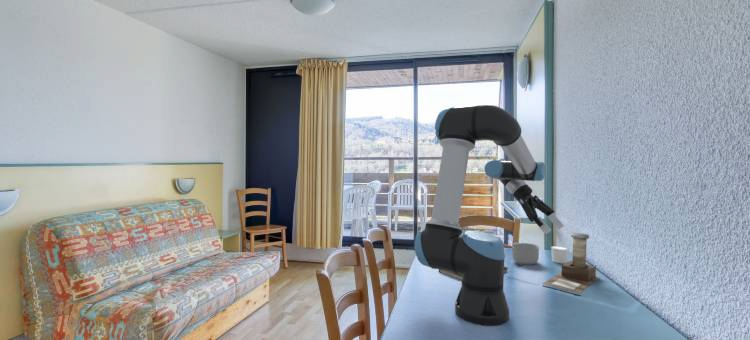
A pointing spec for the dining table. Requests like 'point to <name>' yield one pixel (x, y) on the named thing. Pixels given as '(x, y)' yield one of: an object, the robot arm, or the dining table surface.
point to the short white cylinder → (559, 254)
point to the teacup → (525, 253)
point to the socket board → (573, 278)
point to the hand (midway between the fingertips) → (555, 230)
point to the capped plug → (579, 249)
